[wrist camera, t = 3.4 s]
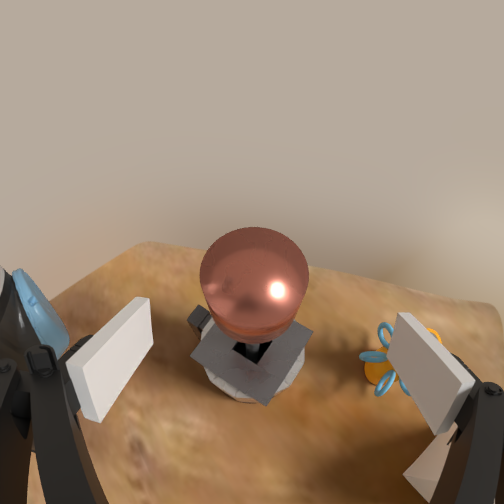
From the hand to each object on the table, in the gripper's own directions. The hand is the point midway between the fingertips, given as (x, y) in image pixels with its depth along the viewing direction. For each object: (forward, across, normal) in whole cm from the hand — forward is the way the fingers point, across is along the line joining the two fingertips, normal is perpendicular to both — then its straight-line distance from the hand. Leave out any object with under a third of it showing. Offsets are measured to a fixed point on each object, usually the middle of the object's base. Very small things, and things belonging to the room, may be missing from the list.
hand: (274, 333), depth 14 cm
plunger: (+17, -1, -13) cm, 21 cm away
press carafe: (+24, -2, -19) cm, 30 cm away
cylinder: (+24, +19, -19) cm, 36 cm away
